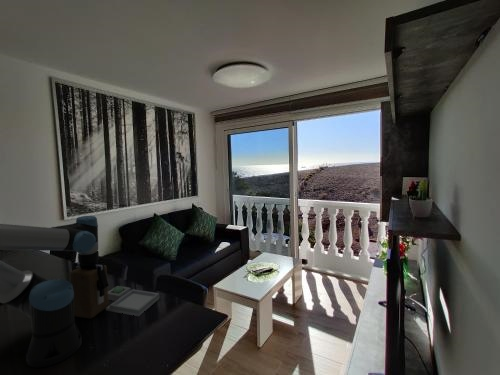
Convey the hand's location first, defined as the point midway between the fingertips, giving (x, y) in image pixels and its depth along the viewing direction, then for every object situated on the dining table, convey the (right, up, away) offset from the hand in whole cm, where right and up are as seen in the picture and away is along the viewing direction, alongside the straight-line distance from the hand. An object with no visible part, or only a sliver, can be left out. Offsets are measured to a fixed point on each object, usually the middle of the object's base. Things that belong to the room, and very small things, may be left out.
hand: (90, 301), depth 110 cm
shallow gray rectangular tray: (+16, -4, +7) cm, 18 cm away
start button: (+5, -3, +13) cm, 15 cm away
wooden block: (0, -5, 0) cm, 5 cm away
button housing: (+5, -4, +13) cm, 15 cm away
